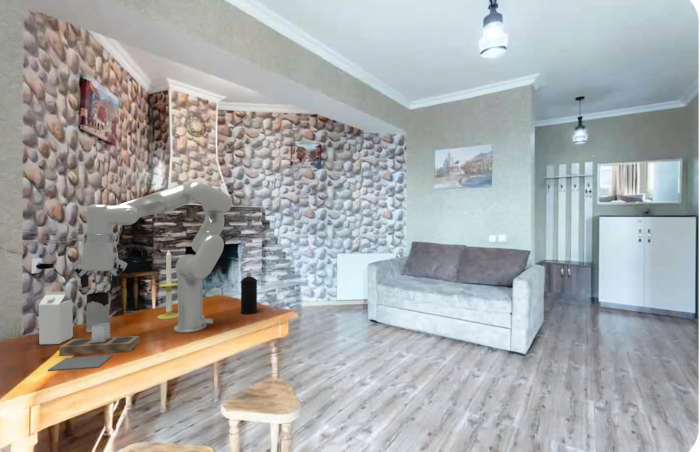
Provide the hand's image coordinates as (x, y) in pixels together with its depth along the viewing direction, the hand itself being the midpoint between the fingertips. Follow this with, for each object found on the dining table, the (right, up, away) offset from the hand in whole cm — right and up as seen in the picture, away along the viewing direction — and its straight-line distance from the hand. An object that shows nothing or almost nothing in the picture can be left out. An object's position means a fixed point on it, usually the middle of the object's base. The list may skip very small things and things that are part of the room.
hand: (100, 286), depth 124 cm
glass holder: (-18, -22, +26) cm, 38 cm away
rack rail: (0, -23, 0) cm, 23 cm away
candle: (+3, -22, +43) cm, 48 cm away
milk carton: (-23, -23, +8) cm, 33 cm away
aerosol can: (+39, -22, +50) cm, 67 cm away
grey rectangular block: (0, -23, 0) cm, 23 cm away
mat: (+2, -23, -11) cm, 26 cm away
